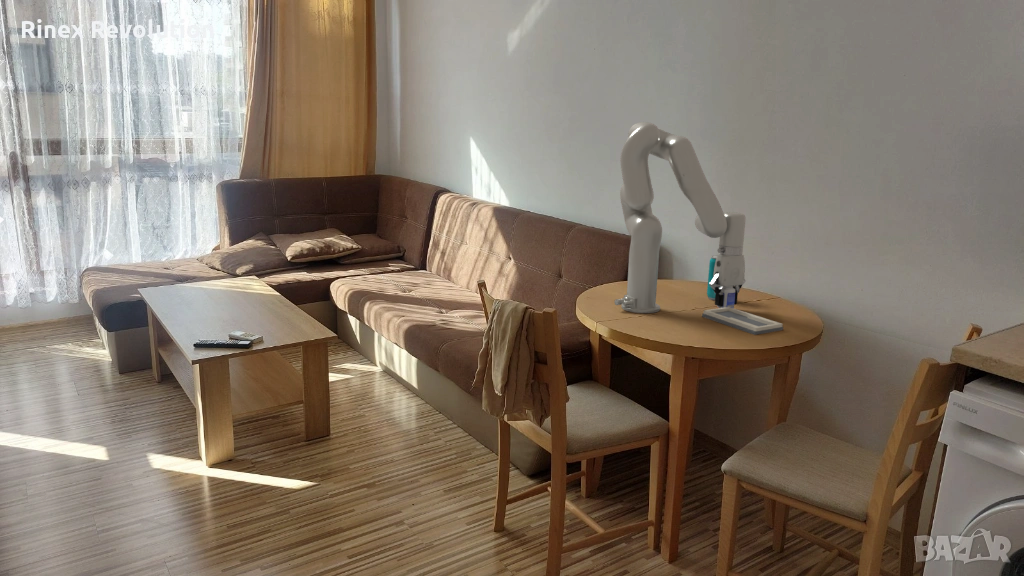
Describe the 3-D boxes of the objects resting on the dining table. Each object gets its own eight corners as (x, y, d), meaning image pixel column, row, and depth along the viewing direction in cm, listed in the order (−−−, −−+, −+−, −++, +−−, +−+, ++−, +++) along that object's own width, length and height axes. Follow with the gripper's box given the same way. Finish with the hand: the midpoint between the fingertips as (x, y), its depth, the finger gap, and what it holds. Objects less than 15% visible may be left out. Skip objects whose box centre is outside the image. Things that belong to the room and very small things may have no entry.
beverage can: (725, 301, 259) (729, 258, 256) (708, 300, 259) (712, 258, 256) (721, 297, 265) (724, 255, 261) (704, 296, 265) (708, 255, 261)
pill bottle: (734, 309, 249) (736, 280, 246) (733, 312, 244) (736, 283, 241) (717, 307, 250) (719, 279, 248) (716, 311, 245) (718, 282, 243)
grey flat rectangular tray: (754, 334, 220) (755, 328, 219) (702, 316, 238) (702, 310, 238) (783, 329, 225) (783, 323, 225) (729, 312, 244) (730, 306, 244)
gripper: (719, 254, 235) (714, 310, 239) (758, 250, 243) (752, 304, 248) (702, 250, 241) (698, 304, 246) (741, 247, 250) (736, 299, 254)
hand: (725, 304), depth 247 cm, fingers closed on pill bottle, 5 cm apart
